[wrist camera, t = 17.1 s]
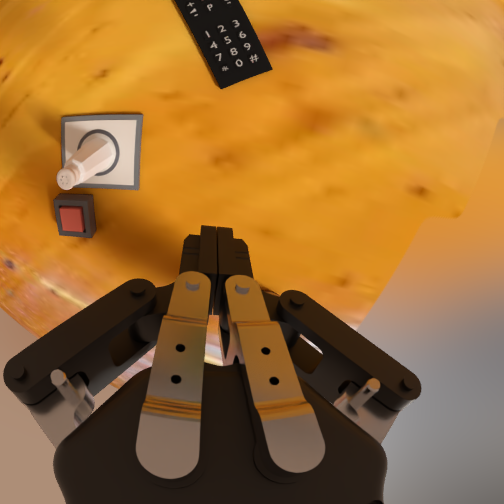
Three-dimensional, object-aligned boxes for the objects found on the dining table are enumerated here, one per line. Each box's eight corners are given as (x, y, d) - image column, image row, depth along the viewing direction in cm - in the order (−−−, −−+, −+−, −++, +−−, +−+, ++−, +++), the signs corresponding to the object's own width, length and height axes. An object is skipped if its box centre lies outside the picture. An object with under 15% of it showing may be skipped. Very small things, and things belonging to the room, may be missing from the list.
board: (139, 188, 40) (137, 190, 39) (65, 185, 37) (63, 187, 36) (143, 114, 33) (141, 115, 33) (63, 117, 31) (60, 117, 30)
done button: (86, 226, 41) (82, 232, 40) (67, 225, 40) (63, 230, 39) (83, 204, 39) (79, 209, 37) (64, 204, 38) (59, 208, 36)
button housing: (96, 230, 43) (91, 238, 41) (64, 228, 42) (59, 235, 40) (92, 194, 39) (87, 201, 37) (59, 193, 38) (53, 199, 36)
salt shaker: (113, 137, 34) (82, 158, 25) (112, 171, 37) (84, 201, 28) (82, 137, 33) (45, 159, 24) (83, 170, 36) (50, 199, 27)
